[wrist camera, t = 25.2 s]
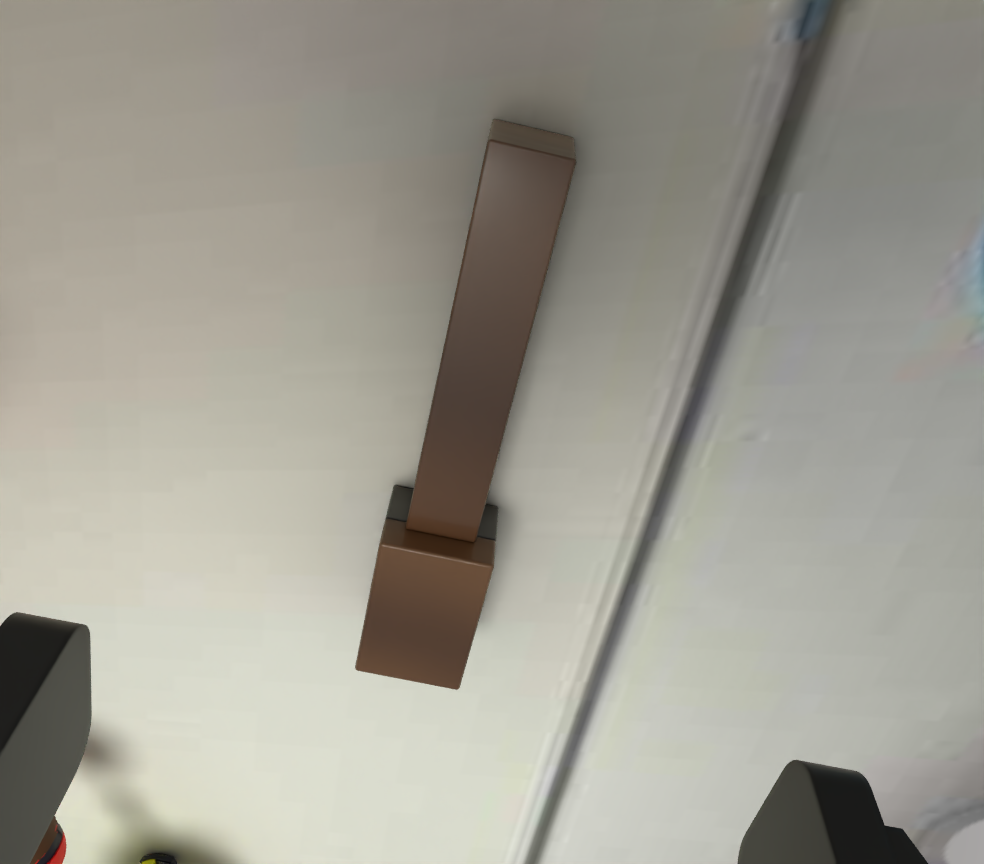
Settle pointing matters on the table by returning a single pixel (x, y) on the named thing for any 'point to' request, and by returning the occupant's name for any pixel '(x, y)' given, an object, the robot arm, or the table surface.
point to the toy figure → (54, 849)
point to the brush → (467, 419)
